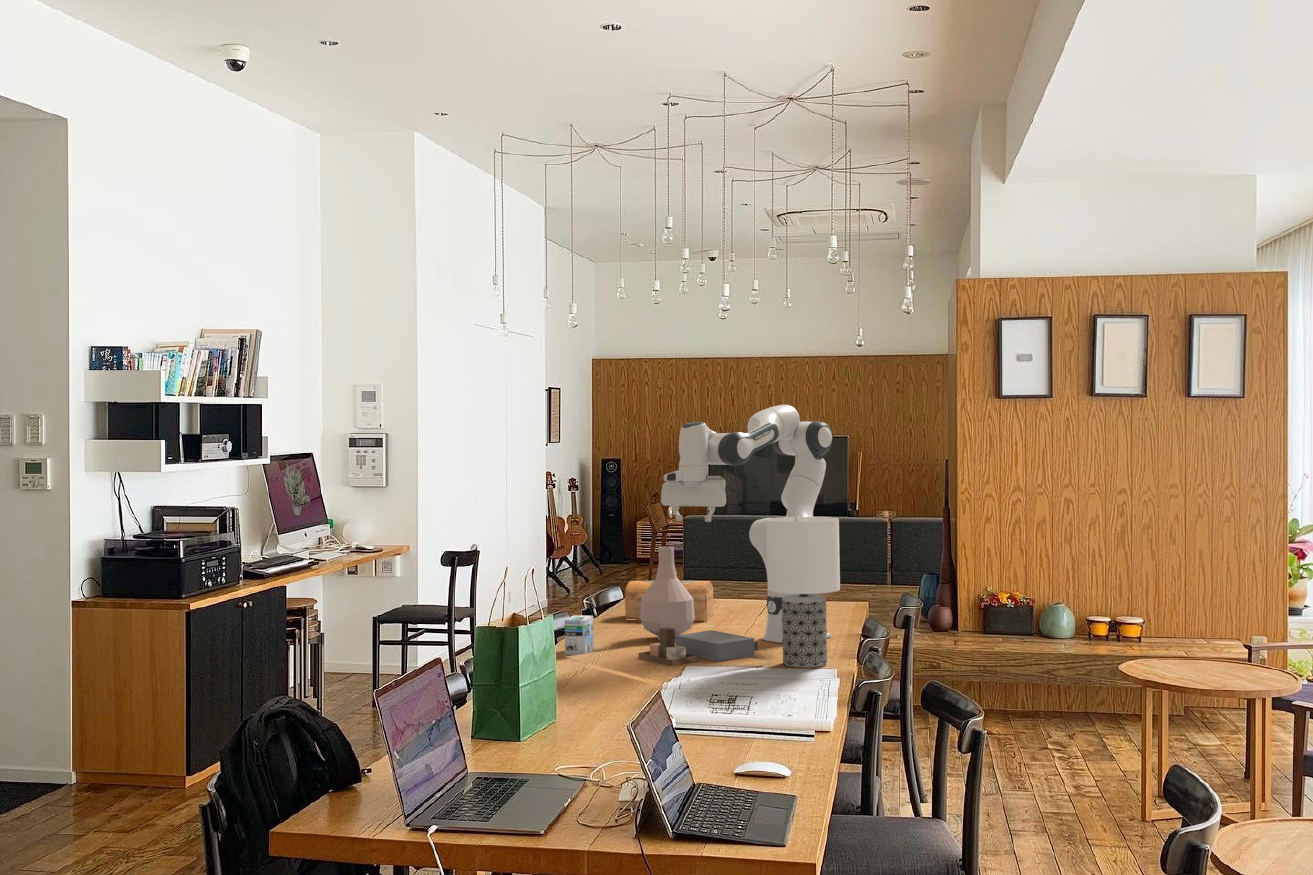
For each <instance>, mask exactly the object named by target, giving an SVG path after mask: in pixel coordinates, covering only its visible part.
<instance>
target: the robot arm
mask: <svg viewBox="0 0 1313 875" xmlns="http://www.w3.org/2000/svg"><path fill="white" fill-rule="evenodd" d="M833 435H834V434H833V431H832V428H831V427H830V425H829V424H827V423H826V422H824V421H818V420H815V421H801V419H800V414H799V412H798V410H797V409H796V408H795V407H793V406H792V405H790V404H780V405H774V406H770V407H767V408H765V409H762V410H760V411H757V412H756V413H755V414H753V415H751V416H750V418H749V419H748V423H747V432H741V431H738V432H737V431H736V432H735V431H734V432H726V433H725V432H723V433H722V432H720V433H717V431H713V430H712V429H710V427H708V426H707V424H706V422H704V421H693V422H688V423H685V424H683V425H682V426H681V428H680V432H679V436H678V437H679V441H678V454H679V463H678V470H674V471H672V472H669V473H666V474H664V475H663V481H664V483H663V484H662V487H661V492H660V493H661V494H660V495H661V496H660V503H661V505H663V506H664V507H665V506H666V507H667V506H669V507H672V512H673V514H674V515H675V521H676V522H683V515H682V514H680V512H679V510H680V507H706V508H707V510H708V514H707V515H704V522H705V523H711V522H712V516H713V515H714V513H715V511H716V507H717V508H718V507H720V508H721V507H725V505H726V504H727V493H726V487H727V482H726V479H725V478H724V477H722V476H721V475H709V465H715V466H716V465H718V466H719V465H720V466H722V465H723V466H727V465H728V466H735V467H737V466H738V467H740V466H743V465H744V464H745V463H747V462H748V460H750V459H751V457H752V456H753V455H754V454H755V453H756V452H758V451H760V450H762V449H763V448H766V447H767V446H770V445H771V444H772V447H773V449H774V450H775V452H776V453H777V454H779V455H780V456H781V455H782V456H786V457H789V456H794V459H795V461H794V466H793V467H792V470H791V471H790V474H789V476H788V478H787V481H786V483H785V486H784V489H783V490H782V493H781V496H780V497H781V498H780V499H781V500H780V501H781V503H782V505H783V506H784V507H785V509H786V515H785V516H784V517H814V509H815V505H816V502H817V500H818V496H819V494H820V491H821V488H822V486H823V482H824V478H825V474H826V468H827V462H826V460H825V458H826V457H827V456H828V454H829V452H830V450H831V447H832V444H833V440H834V439H833V438H834V436H833ZM769 518H770V517H765V518H760V519H757V520H755V521H753V523H752V524H751V526H750V529H749V533H748V536H749V540H750V543H751V544H752V546H753V547H754V548H755V549H756V550H757V551H758V553H759V554H760V556H761V558H762V560H763V564H764V566H765V570H766V572H767V528H766V519H769ZM786 595H791V594H788V593H777V592H772V591H769V590H768V589H767V595H766V608H767V616H766V617H767V618H766V623H765V624H766V625H765V632H764V636H763V640H765V641H767V642H772V643H782V644H783V636H782V598H783V597H785V596H786ZM831 634H832V633H829V632H827V639H828V638H831V637H832V635H831Z"/></svg>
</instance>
